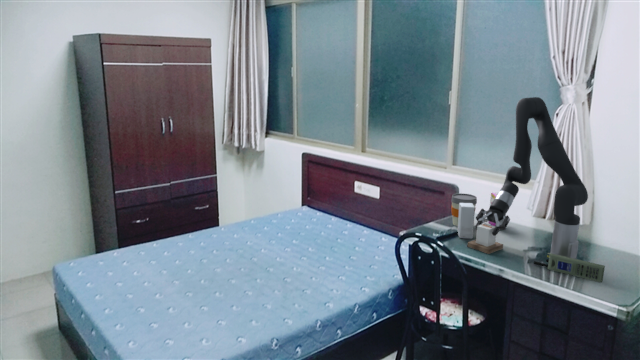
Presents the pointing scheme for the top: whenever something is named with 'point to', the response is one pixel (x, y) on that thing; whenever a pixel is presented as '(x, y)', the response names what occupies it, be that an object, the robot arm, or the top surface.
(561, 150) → the robot arm
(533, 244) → the top surface
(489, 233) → the white box
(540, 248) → the top surface
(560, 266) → the handheld radio
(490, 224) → the candy bar box
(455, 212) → the lidded canister
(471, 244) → the shaft base
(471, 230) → the skincare box
